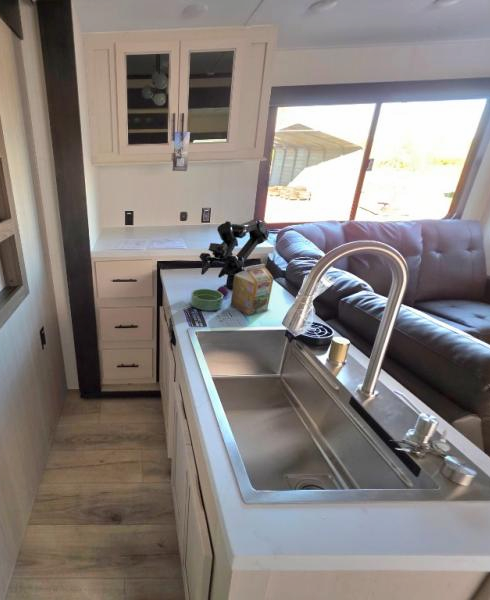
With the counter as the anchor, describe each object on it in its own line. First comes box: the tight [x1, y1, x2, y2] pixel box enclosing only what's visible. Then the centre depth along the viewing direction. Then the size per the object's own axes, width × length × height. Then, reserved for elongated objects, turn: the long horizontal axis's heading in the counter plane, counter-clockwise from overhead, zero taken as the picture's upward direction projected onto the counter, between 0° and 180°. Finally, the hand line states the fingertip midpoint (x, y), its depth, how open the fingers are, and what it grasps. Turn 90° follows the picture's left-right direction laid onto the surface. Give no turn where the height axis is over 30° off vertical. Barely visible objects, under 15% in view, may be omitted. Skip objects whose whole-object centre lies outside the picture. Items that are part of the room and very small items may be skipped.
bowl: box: [190, 288, 224, 312], centre depth 136 cm, size 13×13×5 cm
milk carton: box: [229, 263, 274, 316], centre depth 130 cm, size 11×11×19 cm
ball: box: [216, 285, 229, 298], centre depth 144 cm, size 5×5×5 cm
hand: (210, 275), depth 137 cm, fingers open, 9 cm apart
